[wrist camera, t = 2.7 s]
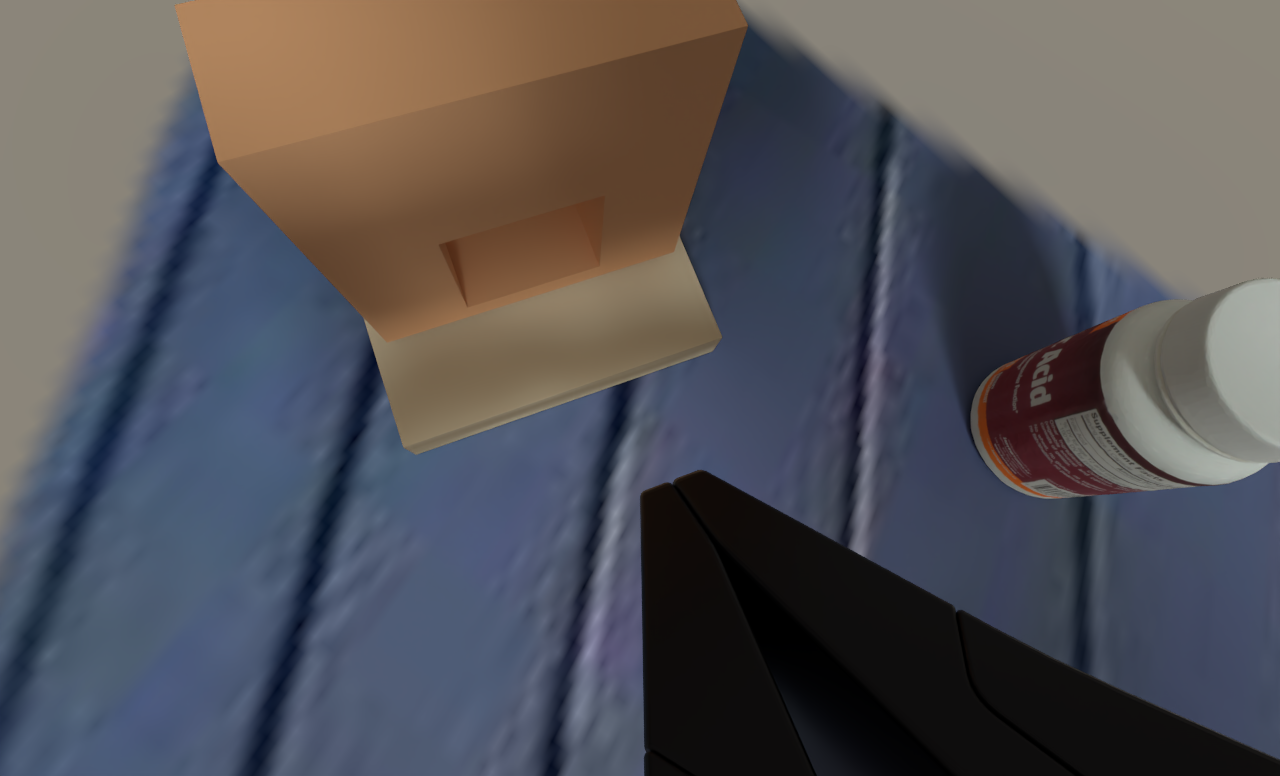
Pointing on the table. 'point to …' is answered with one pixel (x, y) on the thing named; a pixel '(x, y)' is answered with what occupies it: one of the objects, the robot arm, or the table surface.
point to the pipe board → (544, 350)
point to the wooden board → (464, 137)
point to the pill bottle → (1141, 400)
